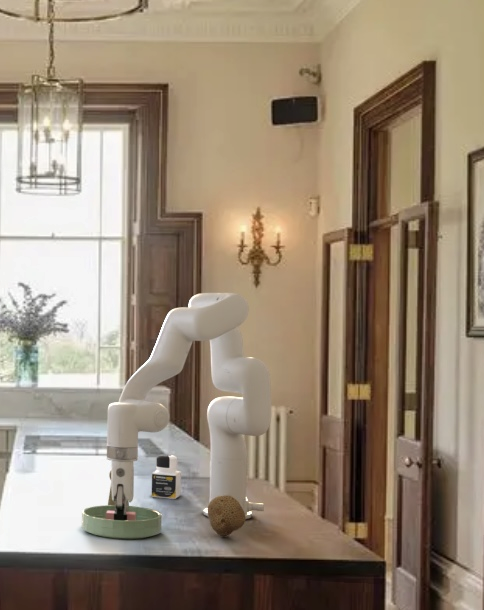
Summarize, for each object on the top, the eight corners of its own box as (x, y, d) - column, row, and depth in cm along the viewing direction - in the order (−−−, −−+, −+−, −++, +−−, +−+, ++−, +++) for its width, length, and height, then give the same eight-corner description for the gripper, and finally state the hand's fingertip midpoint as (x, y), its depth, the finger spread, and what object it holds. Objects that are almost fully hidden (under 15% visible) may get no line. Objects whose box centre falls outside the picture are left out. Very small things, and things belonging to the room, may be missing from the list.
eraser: (135, 528, 247) (135, 511, 247) (134, 531, 244) (135, 514, 244) (106, 526, 249) (107, 510, 249) (105, 529, 245) (106, 512, 245)
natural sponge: (245, 534, 246) (245, 493, 246) (245, 542, 237) (245, 499, 237) (207, 531, 248) (208, 490, 248) (205, 539, 239) (206, 497, 240)
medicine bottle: (151, 497, 293) (152, 455, 293) (157, 493, 300) (158, 452, 300) (175, 499, 290) (176, 457, 290) (180, 495, 297) (181, 454, 297)
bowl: (162, 525, 254) (162, 507, 254) (159, 542, 235) (159, 523, 235) (86, 521, 258) (87, 503, 258) (77, 537, 239) (77, 518, 239)
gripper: (135, 459, 238) (134, 537, 238) (139, 449, 254) (137, 522, 254) (104, 457, 239) (102, 535, 239) (109, 448, 255) (108, 521, 255)
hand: (120, 528), depth 246 cm, fingers closed on eraser, 3 cm apart
